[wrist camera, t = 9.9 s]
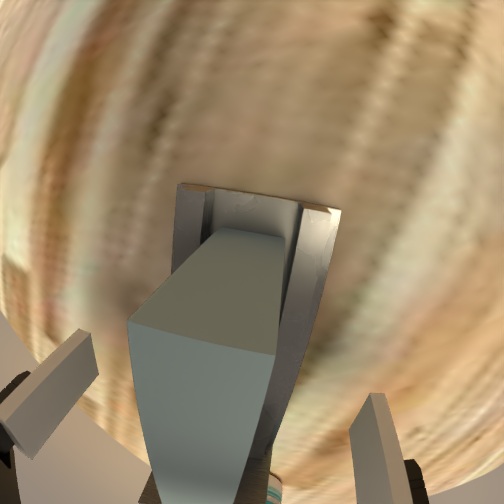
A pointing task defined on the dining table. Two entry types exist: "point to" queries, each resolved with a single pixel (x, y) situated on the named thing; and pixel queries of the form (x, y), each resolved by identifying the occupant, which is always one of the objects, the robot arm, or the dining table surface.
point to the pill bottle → (274, 491)
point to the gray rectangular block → (207, 364)
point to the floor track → (292, 297)
